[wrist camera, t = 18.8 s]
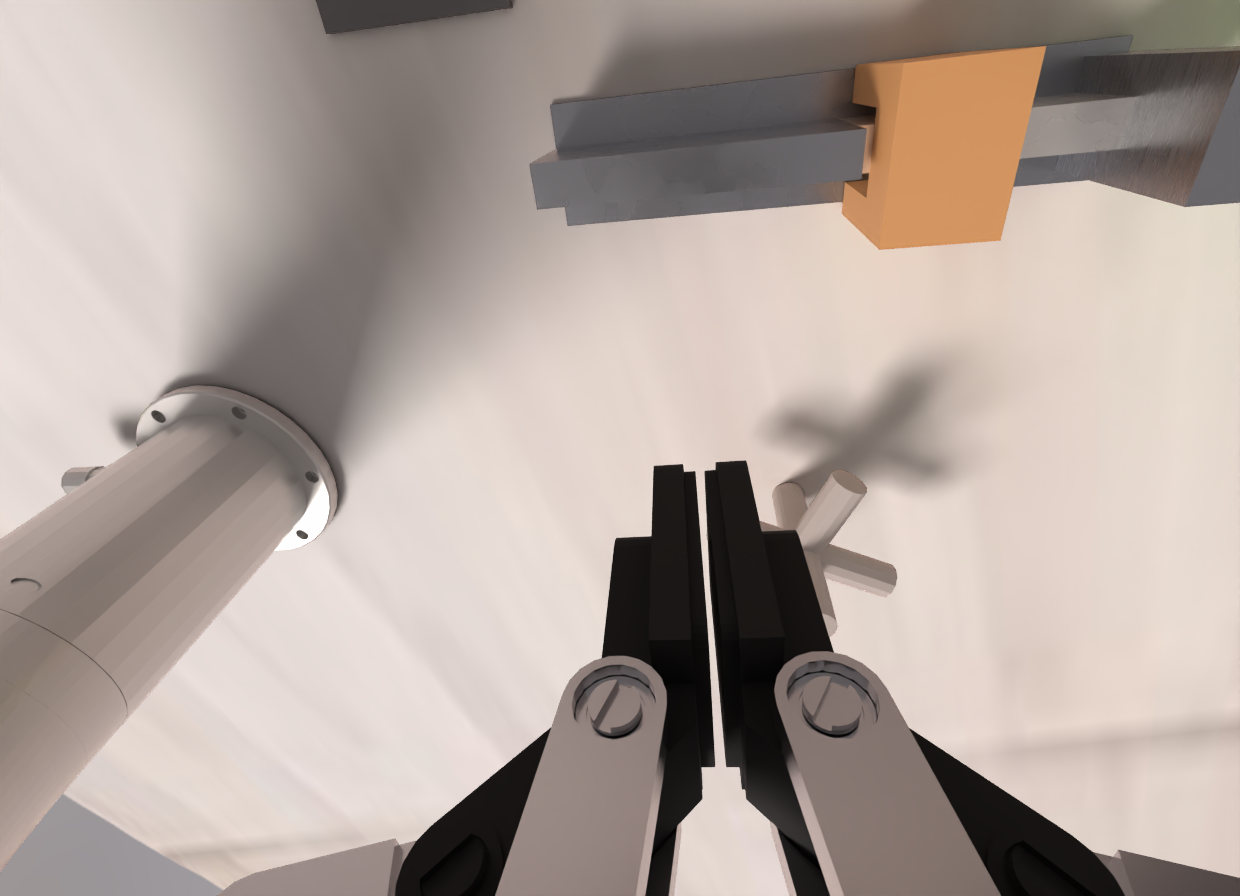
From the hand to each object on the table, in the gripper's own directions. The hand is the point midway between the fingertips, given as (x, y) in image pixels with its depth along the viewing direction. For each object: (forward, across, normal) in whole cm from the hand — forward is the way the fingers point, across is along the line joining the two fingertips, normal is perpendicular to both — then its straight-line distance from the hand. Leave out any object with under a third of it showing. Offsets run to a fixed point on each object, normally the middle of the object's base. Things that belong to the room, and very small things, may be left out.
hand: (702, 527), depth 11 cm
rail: (+20, -6, -4) cm, 21 cm away
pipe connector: (+21, -6, +15) cm, 26 cm away
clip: (+20, -9, -4) cm, 22 cm away
